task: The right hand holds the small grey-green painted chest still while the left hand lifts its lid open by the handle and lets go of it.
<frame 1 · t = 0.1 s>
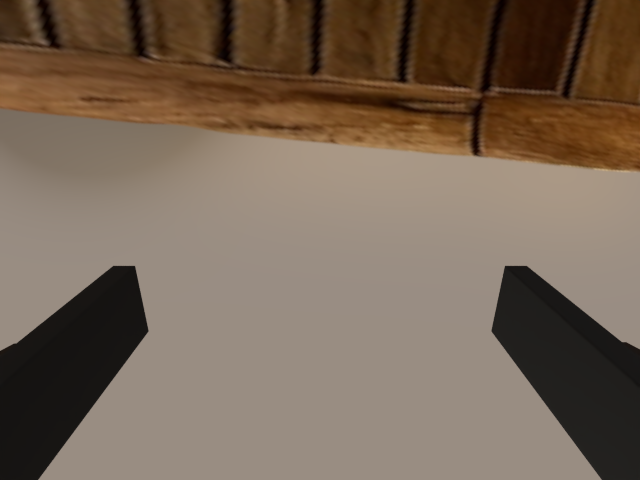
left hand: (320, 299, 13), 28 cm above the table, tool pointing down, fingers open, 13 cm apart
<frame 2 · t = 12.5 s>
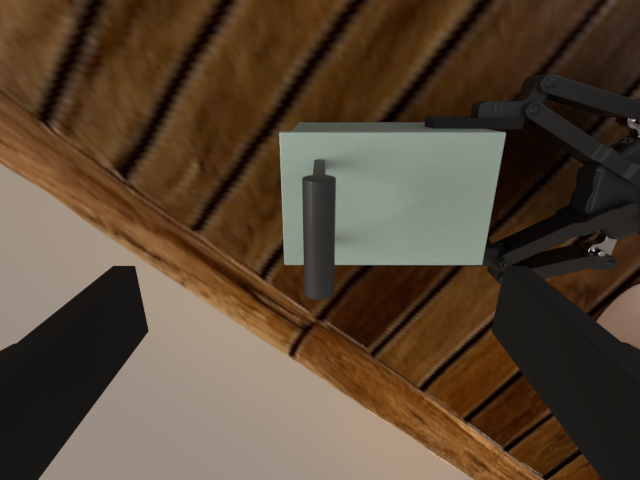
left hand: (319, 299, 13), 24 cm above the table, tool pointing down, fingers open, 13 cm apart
right hand: (422, 188, 29), fingers closed on chest, 10 cm apart
chest: (370, 172, 36), on the table, touching right hand
lid: (397, 217, 22), point 15 cm above the table, hinge at 0.0°
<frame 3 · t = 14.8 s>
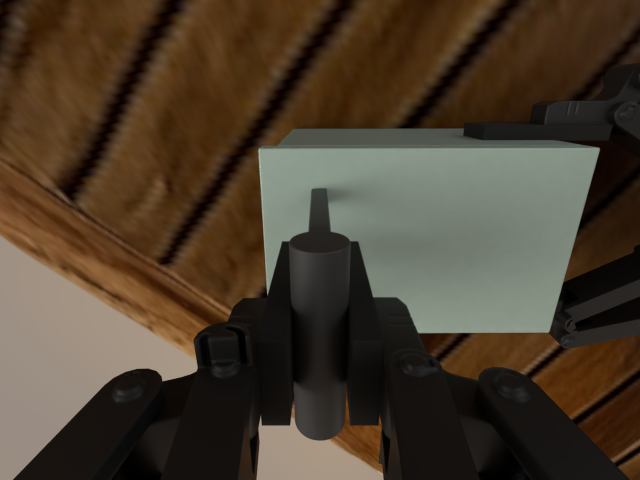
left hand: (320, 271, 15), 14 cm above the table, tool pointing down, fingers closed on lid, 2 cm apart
chest: (385, 192, 28), on the table, touching right hand
lid: (441, 283, 14), point 15 cm above the table, hinge at 0.4°, touching left hand
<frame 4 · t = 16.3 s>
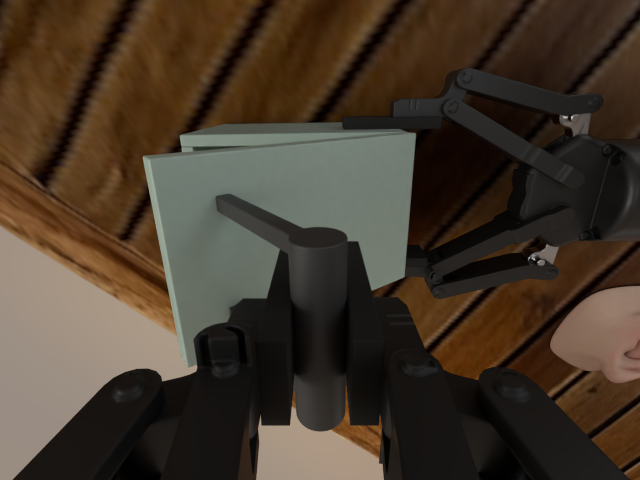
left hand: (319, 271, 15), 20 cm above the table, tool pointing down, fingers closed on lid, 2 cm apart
right hand: (342, 194, 27), fingers closed on chest, 10 cm apart
chest: (303, 176, 34), on the table, touching right hand
anatomical model: (614, 327, 39), on the table
lid: (358, 256, 16), point 19 cm above the table, hinge at 36.8°, touching left hand
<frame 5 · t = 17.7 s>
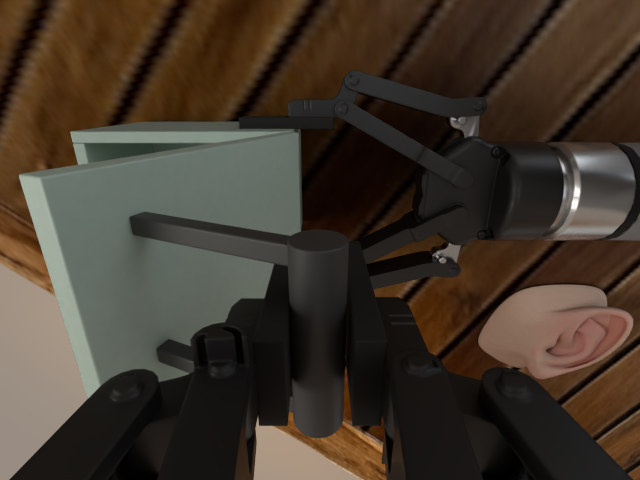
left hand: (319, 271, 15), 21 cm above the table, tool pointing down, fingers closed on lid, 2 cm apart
right hand: (248, 192, 28), fingers closed on chest, 10 cm apart
chest: (227, 174, 34), on the table, touching right hand
anatomical model: (540, 325, 40), on the table
lid: (291, 258, 16), point 19 cm above the table, hinge at 65.8°, touching left hand
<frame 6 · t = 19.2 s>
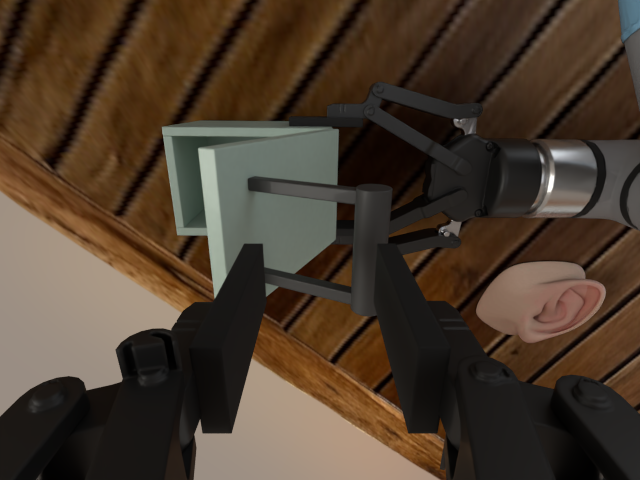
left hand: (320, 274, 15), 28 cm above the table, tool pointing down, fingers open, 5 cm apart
right hand: (291, 177, 34), fingers closed on chest, 10 cm apart
chest: (267, 165, 41), on the table, touching right hand
anatomical model: (529, 297, 47), on the table
lid: (340, 215, 23), point 19 cm above the table, hinge at 64.5°
when the right hand's fingers open (7 cm above the table, at t = 21.5 s): chest stays where it is, on the table.
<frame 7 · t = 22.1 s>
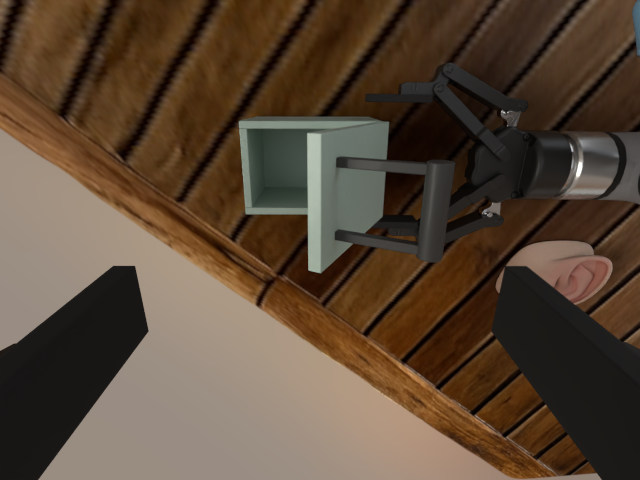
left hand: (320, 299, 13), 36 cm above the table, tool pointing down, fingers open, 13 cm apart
right hand: (362, 163, 40), fingers open, 13 cm apart
chest: (313, 155, 46), on the table
anatomical model: (543, 273, 53), on the table
lid: (399, 190, 28), point 19 cm above the table, hinge at 63.8°
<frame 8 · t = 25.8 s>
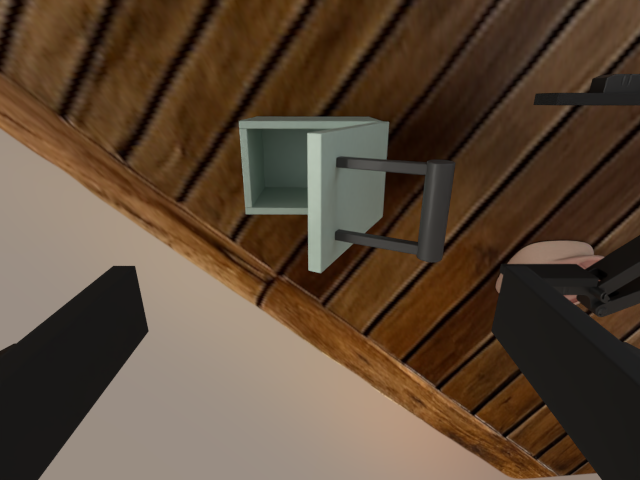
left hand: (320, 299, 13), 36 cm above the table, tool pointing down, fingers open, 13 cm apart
chest: (313, 155, 46), on the table
anatomical model: (543, 273, 53), on the table
lid: (399, 190, 28), point 19 cm above the table, hinge at 63.8°
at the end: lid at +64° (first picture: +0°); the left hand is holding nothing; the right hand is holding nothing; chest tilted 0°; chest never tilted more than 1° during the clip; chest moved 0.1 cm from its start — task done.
